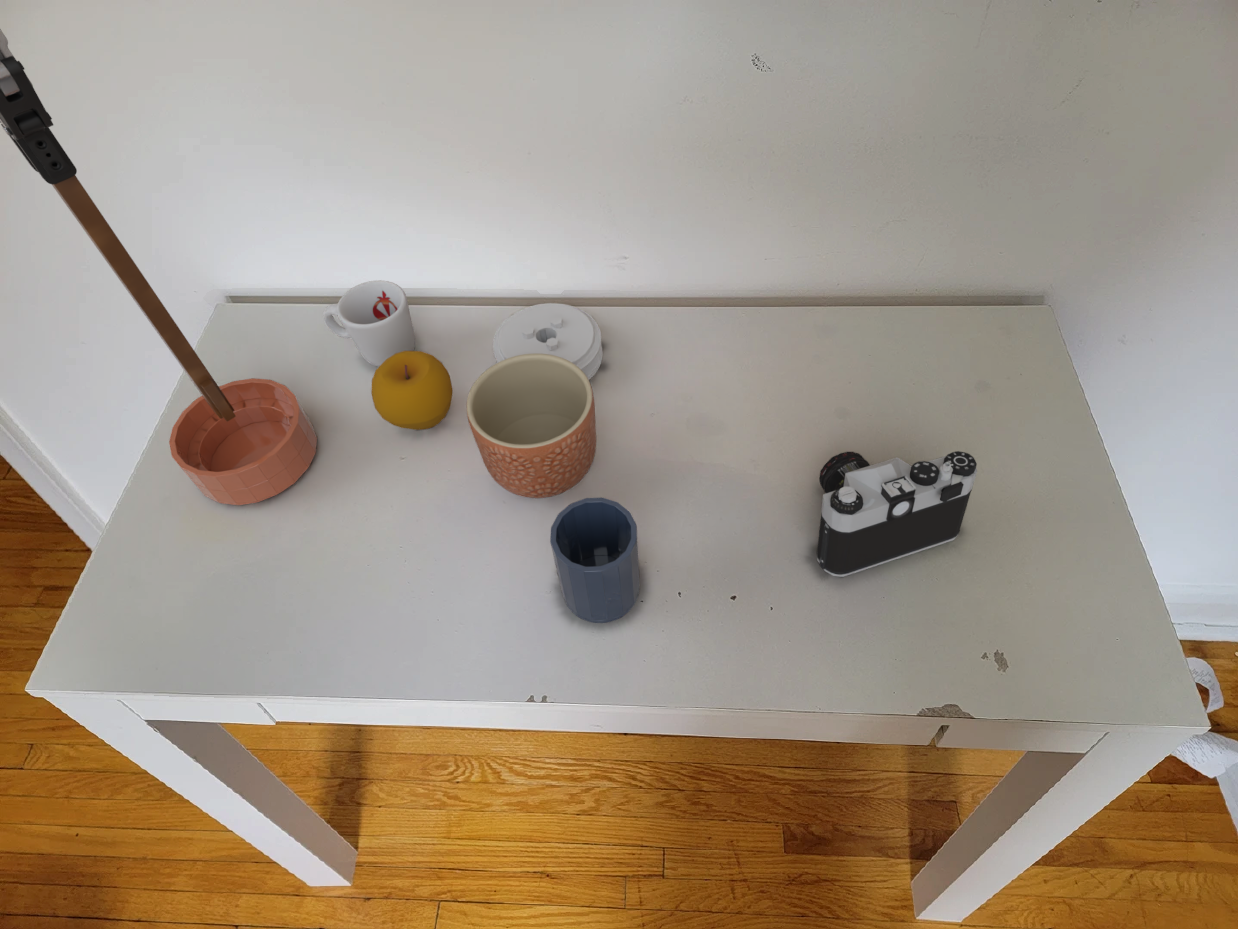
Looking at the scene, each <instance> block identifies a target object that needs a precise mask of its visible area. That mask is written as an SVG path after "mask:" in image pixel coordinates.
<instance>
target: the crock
mask: <svg viewBox="0 0 1238 929" xmlns="http://www.w3.org/2000/svg"><path fill="white" fill-rule="evenodd" d="M549 543H550V546H551V551H552V555H553V559H554V564H555V569H556V573H557V578H558V582H559V587H560V590H561V594H562V597H563V600H564V602H565V604H566V606H567V608H568V609H569V610H570V611H571V612H572V614H573V615H575V616H576V617H578V618H579V619H581V620H583V621H585V622H589V623H593V624H607V623H611V622H614V621H617V620H619V619H622V617H624V616H625V615H627V614H628V613H629V612H630V611H631V610H632V609H633V607H635V604H636V603H637V601H638V599H639V594H640V590H641V588H640V587H641V584H640V563H639V562H640V560H639V545H638V544H639V542H638V526H637V523H636V521H635V519H634V517H633V515H632V513H631V512H630V510H628V509H627V508H626V507H625V506H623V505H622V504H621V503H619V502H618V501H616V500H613V499H609V498H606V497H601V496H600V497H585V498H582V499H579V500H577V501H574V502H572V503H570V504H568V505H567V506H566V507H565V508H564V509H562V510H561V511H559V513H558V514H557V515H556V517H555V519H554V521H553V524H552V525H551V527H550V539H549Z"/></svg>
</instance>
